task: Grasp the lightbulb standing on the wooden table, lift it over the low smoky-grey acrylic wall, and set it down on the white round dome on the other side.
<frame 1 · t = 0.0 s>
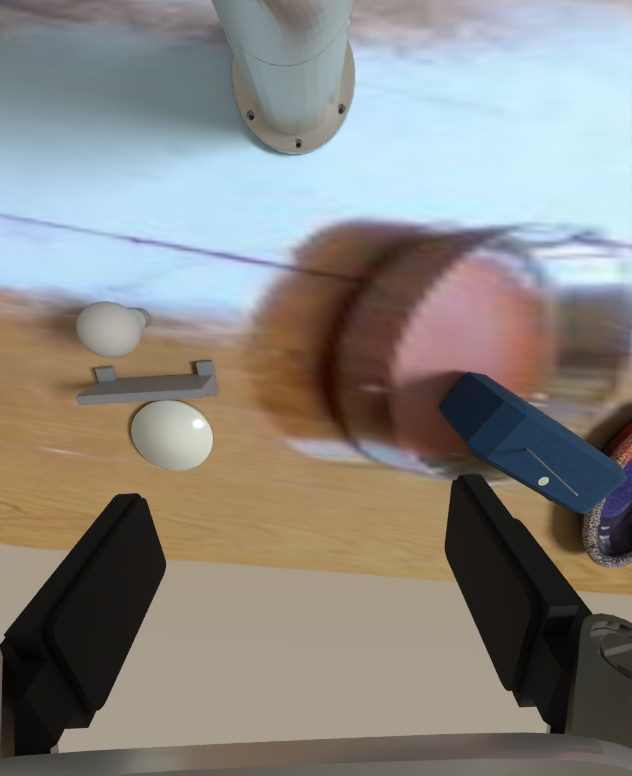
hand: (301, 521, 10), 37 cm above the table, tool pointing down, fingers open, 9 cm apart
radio: (500, 420, 51), on the table
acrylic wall: (159, 379, 48), on the table
white round dome: (174, 434, 51), on the table
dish: (620, 480, 56), on the table
lightbulb: (144, 316, 44), on the table
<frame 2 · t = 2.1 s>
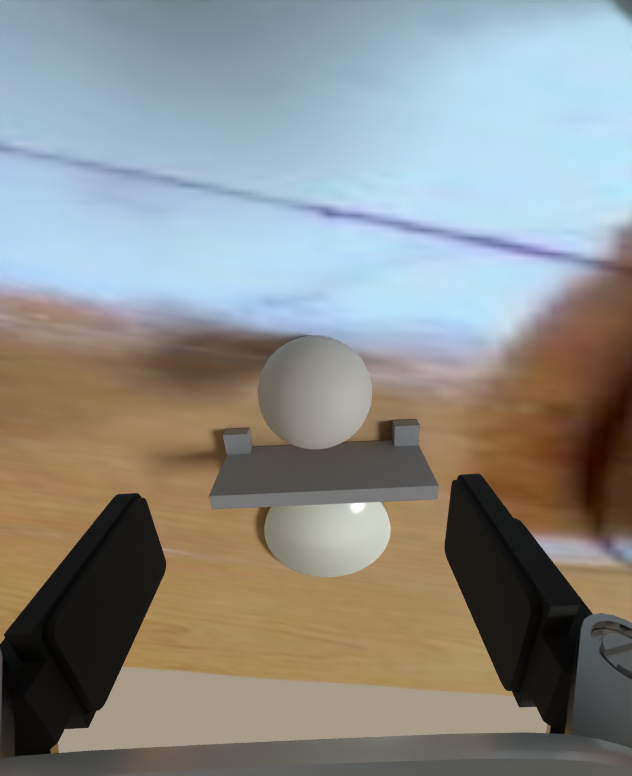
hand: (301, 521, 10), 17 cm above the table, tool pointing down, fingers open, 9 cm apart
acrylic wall: (322, 449, 29), on the table
white round dome: (327, 527, 32), on the table
lightbulb: (315, 348, 26), on the table
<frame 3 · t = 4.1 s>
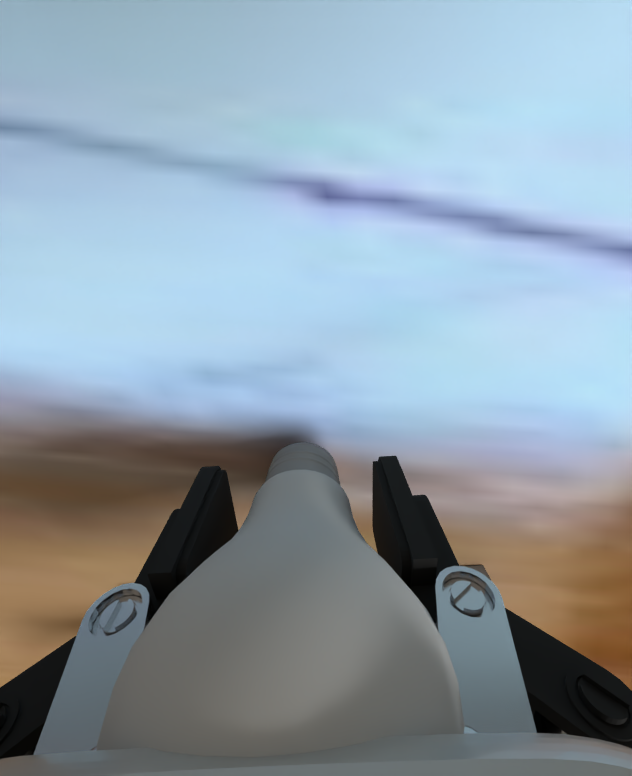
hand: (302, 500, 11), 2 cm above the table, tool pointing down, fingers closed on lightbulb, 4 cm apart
lightbulb: (304, 455, 13), on the table, touching gripper
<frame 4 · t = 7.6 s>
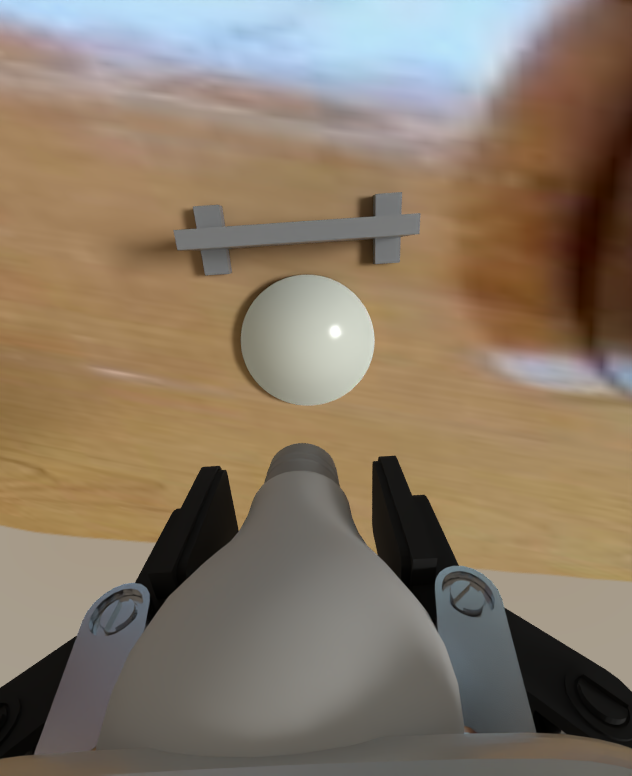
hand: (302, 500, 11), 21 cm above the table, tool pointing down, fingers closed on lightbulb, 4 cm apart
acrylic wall: (300, 235, 27), on the table
white round dome: (307, 342, 31), on the table
lightbulb: (303, 456, 13), point 19 cm above the table, touching gripper
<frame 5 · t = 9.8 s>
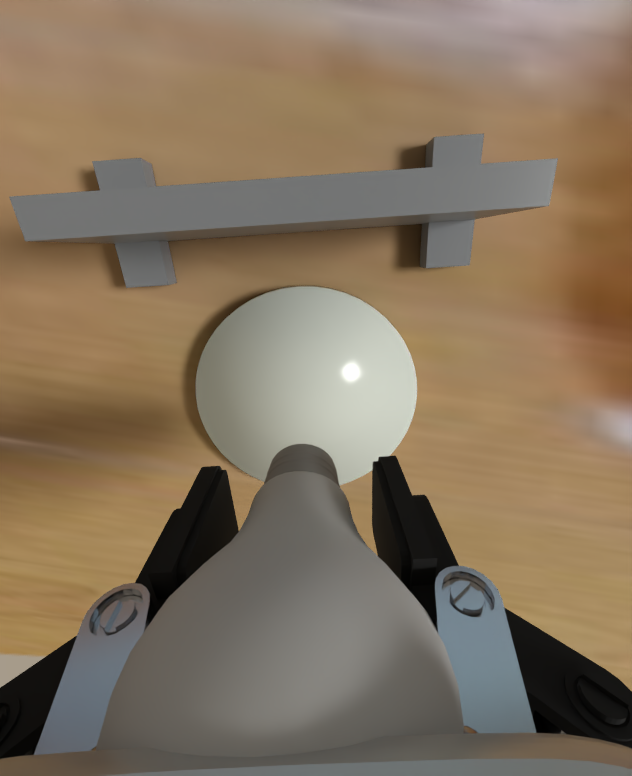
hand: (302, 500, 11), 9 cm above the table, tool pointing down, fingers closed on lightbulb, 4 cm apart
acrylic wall: (293, 218, 15), on the table
white round dome: (306, 395, 19), on the table
lightbulb: (303, 456, 13), point 6 cm above the table, touching gripper
when the fingers open (4 cm above the table, at t = 11.5 s): lightbulb moves 1 cm, resting on white round dome.
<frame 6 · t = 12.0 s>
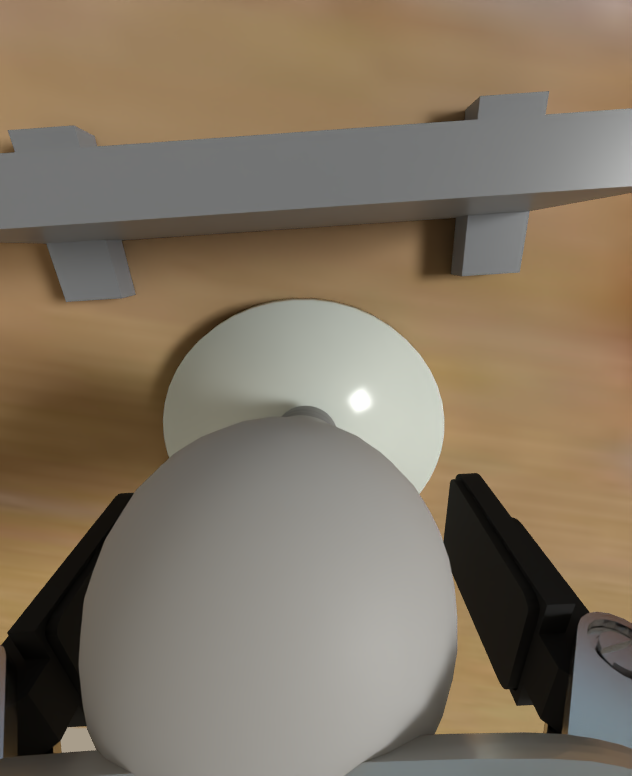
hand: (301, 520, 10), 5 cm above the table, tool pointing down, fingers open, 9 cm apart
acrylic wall: (286, 210, 12), on the table
white round dome: (304, 433, 15), on the table
lightbulb: (307, 426, 14), point 1 cm above the table, touching white round dome
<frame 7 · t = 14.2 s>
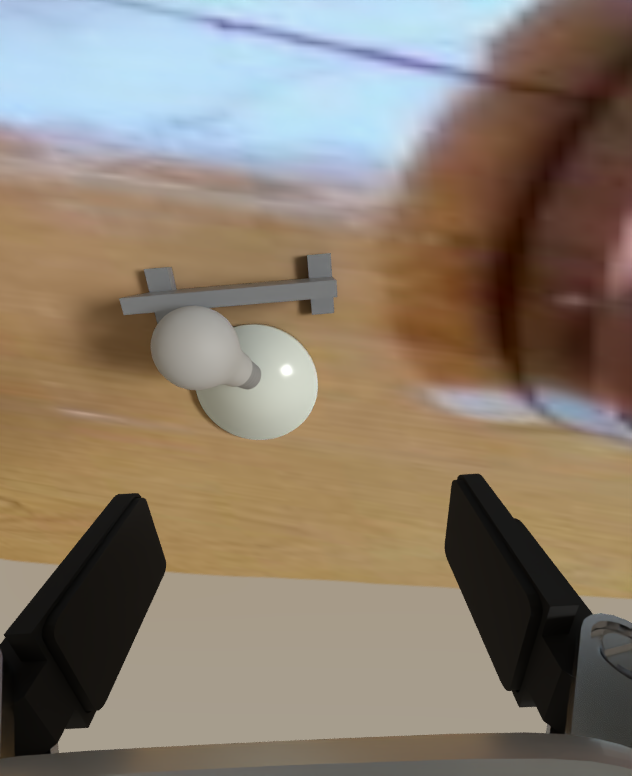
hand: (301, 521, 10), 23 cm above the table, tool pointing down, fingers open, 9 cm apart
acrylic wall: (243, 290, 30), on the table
white round dome: (257, 383, 33), on the table
lightbulb: (255, 379, 32), point 1 cm above the table, touching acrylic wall, white round dome
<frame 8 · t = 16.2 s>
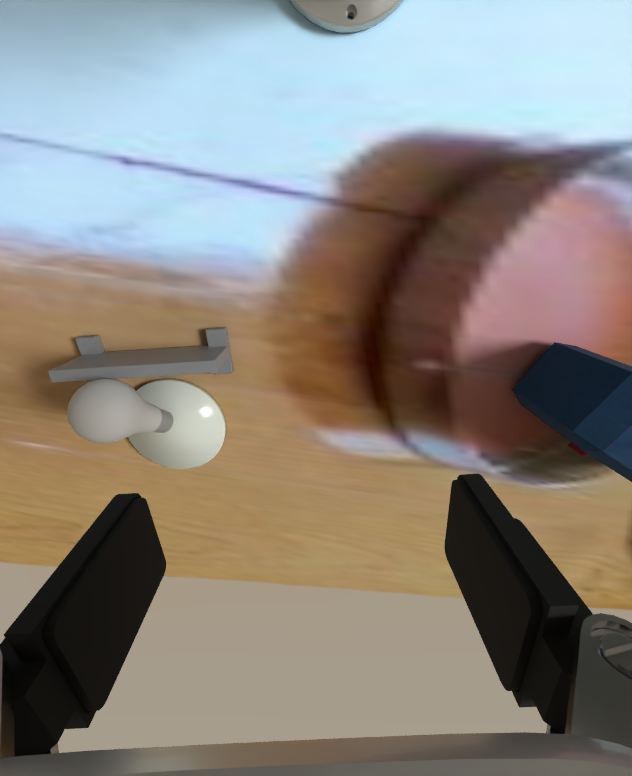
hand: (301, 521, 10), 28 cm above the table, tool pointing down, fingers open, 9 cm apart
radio: (584, 406, 41), on the table
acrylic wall: (159, 353, 37), on the table
white round dome: (176, 424, 41), on the table
lightbulb: (171, 423, 39), point 1 cm above the table, touching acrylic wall, white round dome
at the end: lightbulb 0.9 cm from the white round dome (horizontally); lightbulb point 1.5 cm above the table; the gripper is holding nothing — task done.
